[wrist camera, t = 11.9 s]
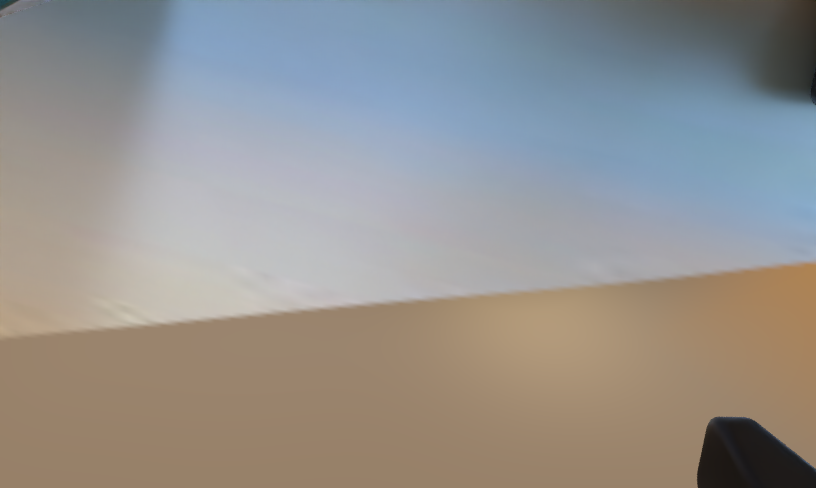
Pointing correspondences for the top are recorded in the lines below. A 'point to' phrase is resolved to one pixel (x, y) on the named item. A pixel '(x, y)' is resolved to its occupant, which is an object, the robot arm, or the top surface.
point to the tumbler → (17, 5)
